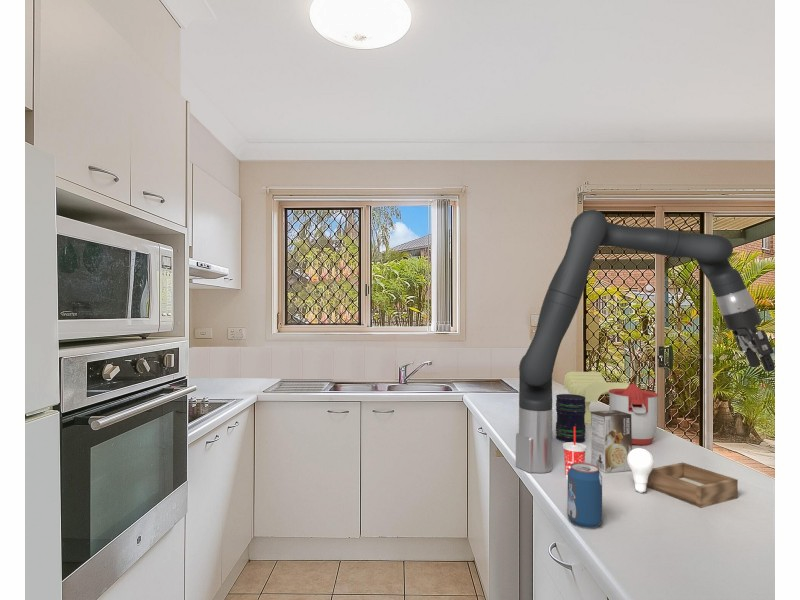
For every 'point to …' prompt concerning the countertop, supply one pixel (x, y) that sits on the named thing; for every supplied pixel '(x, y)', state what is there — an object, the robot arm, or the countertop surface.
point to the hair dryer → (589, 387)
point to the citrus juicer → (637, 411)
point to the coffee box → (611, 440)
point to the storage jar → (570, 417)
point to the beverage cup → (573, 453)
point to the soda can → (584, 495)
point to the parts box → (693, 484)
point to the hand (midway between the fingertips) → (763, 368)
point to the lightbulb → (640, 467)
